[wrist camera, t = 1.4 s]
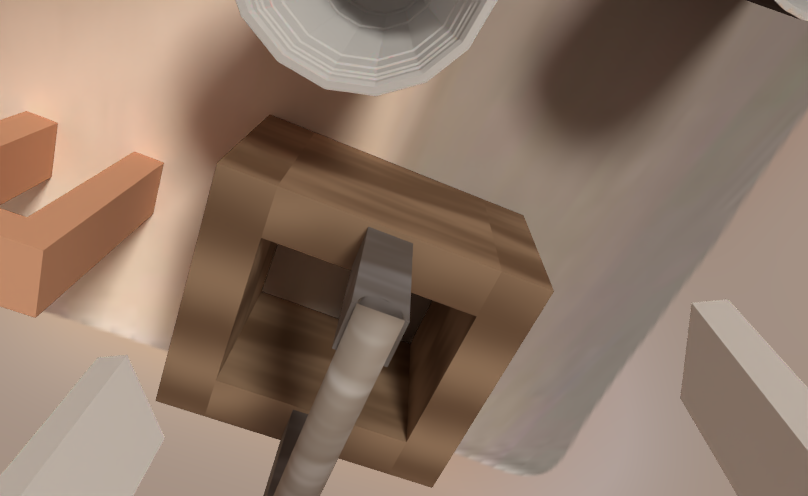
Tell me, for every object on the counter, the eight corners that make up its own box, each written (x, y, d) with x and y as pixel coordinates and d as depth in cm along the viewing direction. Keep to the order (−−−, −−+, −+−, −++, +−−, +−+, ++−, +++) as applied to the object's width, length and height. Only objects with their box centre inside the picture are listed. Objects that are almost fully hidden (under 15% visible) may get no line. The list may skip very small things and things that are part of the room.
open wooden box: (270, 114, 35) (138, 234, 19) (523, 215, 38) (596, 396, 22) (213, 309, 42) (80, 519, 26) (430, 384, 44) (433, 617, 28)
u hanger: (26, 111, 36) (-168, 178, 24) (163, 162, 37) (43, 250, 25) (21, 166, 37) (-162, 253, 26) (153, 213, 39) (35, 317, 27)
